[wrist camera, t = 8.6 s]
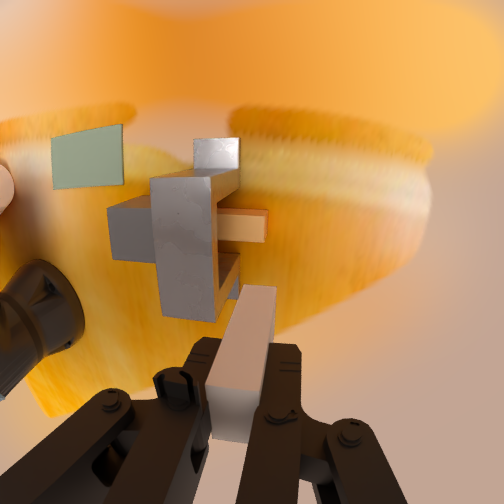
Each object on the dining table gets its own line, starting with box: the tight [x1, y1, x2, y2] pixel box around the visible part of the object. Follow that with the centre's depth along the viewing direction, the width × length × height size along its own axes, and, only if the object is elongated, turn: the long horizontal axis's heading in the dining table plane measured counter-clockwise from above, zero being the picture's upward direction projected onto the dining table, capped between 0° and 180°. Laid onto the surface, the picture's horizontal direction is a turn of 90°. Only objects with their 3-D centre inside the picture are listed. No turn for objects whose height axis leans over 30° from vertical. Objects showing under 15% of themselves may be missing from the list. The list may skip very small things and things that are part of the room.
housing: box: [150, 138, 240, 323], centre depth 26 cm, size 4×17×10 cm, turn 0°
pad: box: [51, 124, 124, 190], centre depth 31 cm, size 12×7×1 cm, turn 89°
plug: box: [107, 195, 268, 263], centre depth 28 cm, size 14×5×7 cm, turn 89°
